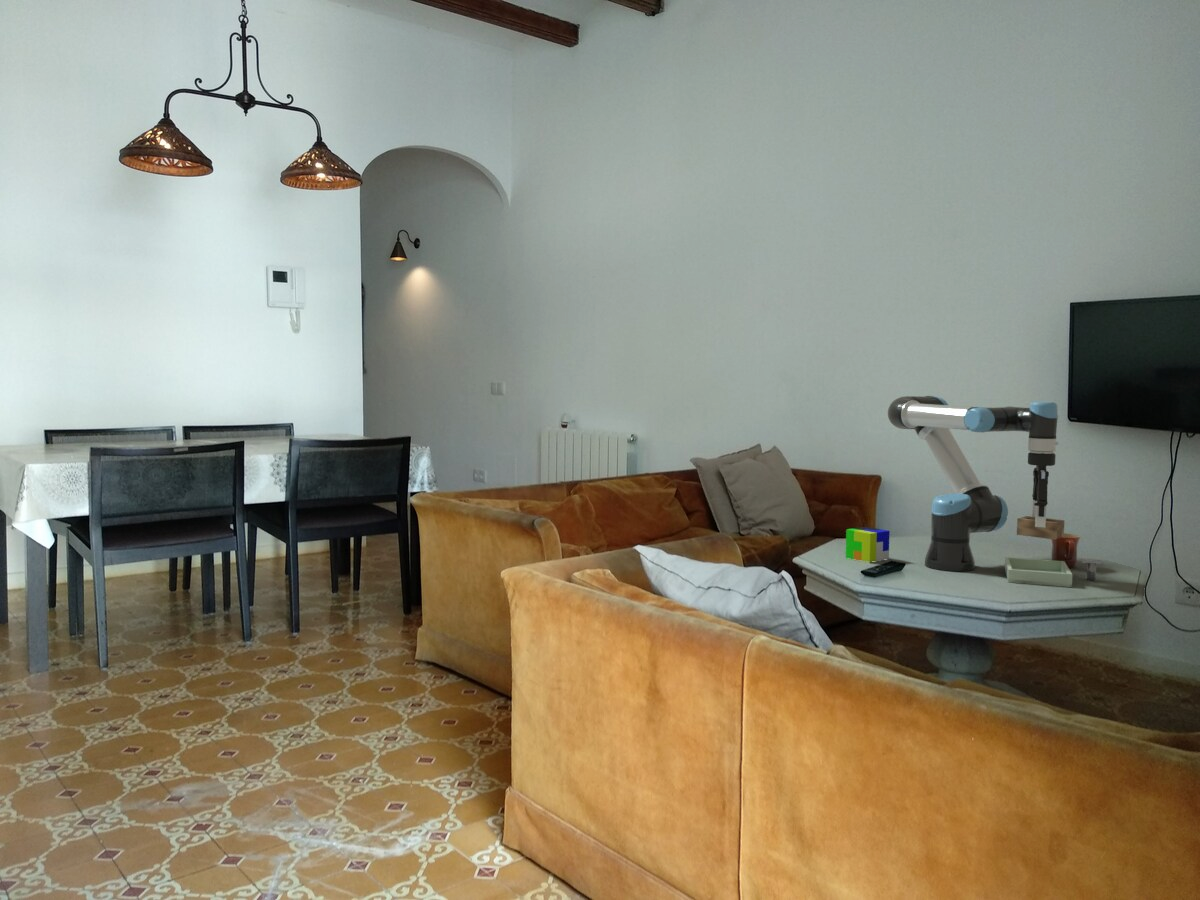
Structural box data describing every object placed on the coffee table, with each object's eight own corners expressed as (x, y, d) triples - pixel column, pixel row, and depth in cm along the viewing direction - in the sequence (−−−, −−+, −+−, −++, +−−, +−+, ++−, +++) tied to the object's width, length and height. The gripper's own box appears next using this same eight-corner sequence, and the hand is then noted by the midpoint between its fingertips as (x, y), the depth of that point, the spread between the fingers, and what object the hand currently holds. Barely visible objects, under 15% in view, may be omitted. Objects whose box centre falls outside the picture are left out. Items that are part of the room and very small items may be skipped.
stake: (1081, 580, 263) (1082, 558, 263) (1080, 578, 265) (1081, 557, 265) (1101, 581, 261) (1102, 560, 261) (1100, 580, 263) (1101, 558, 263)
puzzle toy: (888, 559, 294) (889, 530, 293) (869, 563, 288) (870, 533, 288) (864, 555, 302) (865, 526, 301) (845, 558, 297) (846, 529, 296)
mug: (1045, 563, 289) (1046, 532, 288) (1073, 564, 287) (1075, 533, 286) (1056, 570, 277) (1057, 538, 276) (1086, 571, 275) (1087, 539, 274)
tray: (1008, 582, 261) (1008, 569, 261) (1004, 568, 279) (1004, 557, 279) (1071, 587, 255) (1072, 574, 254) (1063, 573, 273) (1064, 561, 273)
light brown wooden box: (1063, 536, 265) (1064, 520, 265) (1054, 539, 260) (1055, 523, 260) (1026, 531, 273) (1026, 516, 273) (1016, 534, 268) (1017, 518, 268)
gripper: (1060, 455, 253) (1056, 531, 255) (1051, 449, 274) (1048, 519, 276) (1031, 454, 256) (1028, 529, 258) (1025, 448, 277) (1022, 518, 279)
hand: (1038, 524), depth 267 cm, fingers closed on light brown wooden box, 10 cm apart
